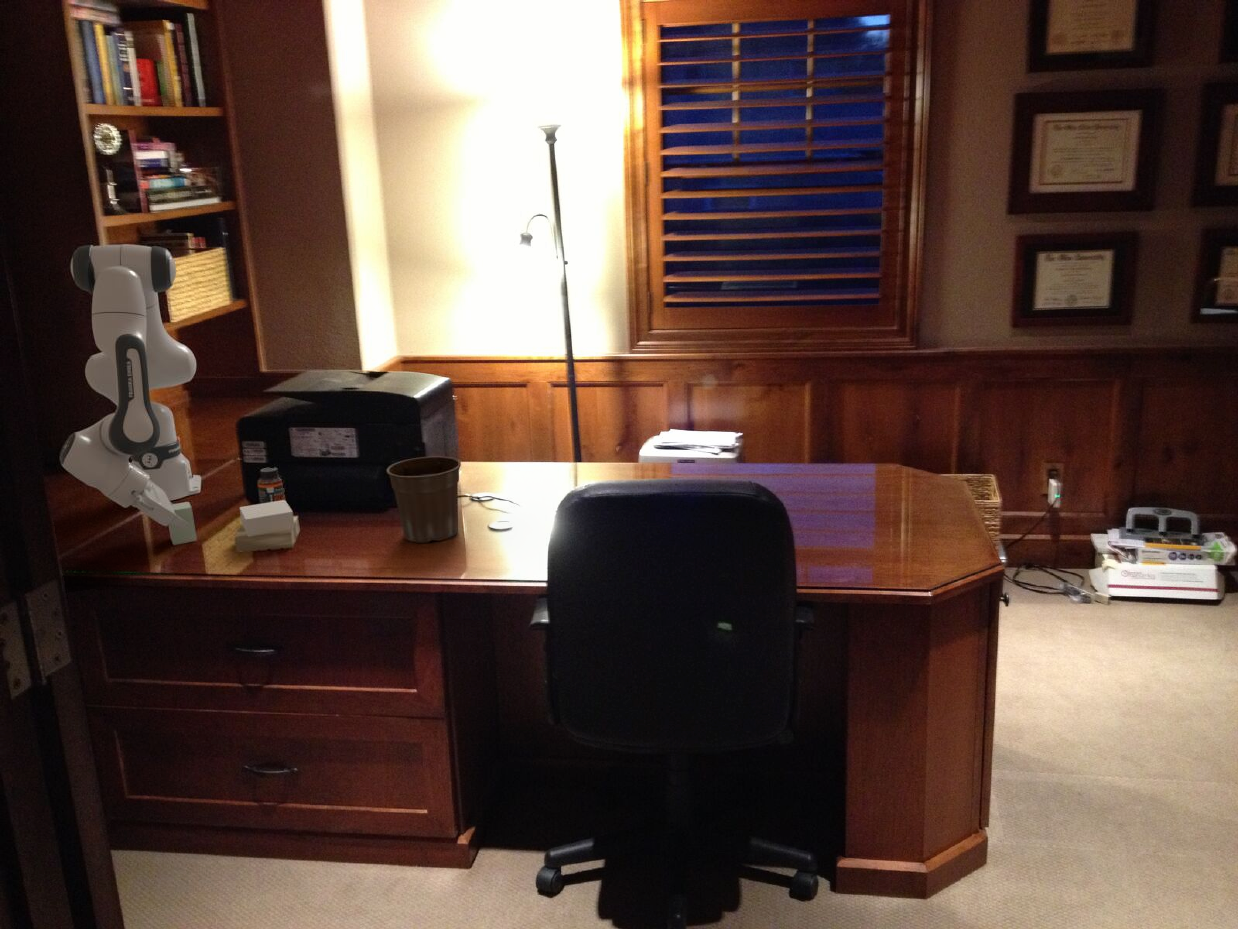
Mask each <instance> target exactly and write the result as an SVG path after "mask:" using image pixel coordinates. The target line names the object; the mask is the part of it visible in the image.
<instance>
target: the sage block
mask: <svg viewBox="0 0 1238 929" xmlns="http://www.w3.org/2000/svg"><path fill="white" fill-rule="evenodd" d="M171 506H172V508H173V510H174V512H175V514H176V515H177V516H179V517H180V518H183V519H184V520H186V521H187V522H188V524H189V525H188V526H187V528H186V529H181V528H180V527H178V526H176V525H173V524H171V523H169V524H168V529H169V534H170V535H169V536H170V540H171V542H172V544H173V546H177V545H181V544H185V543H190V542H191V543H192V542H197V540H198V538H197V533H196V527H195V520H194V513H193V509H192V506H191V503H190V502H189V501H185V502H179V503H172V505H171Z"/></svg>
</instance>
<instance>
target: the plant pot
mask: <svg viewBox="0 0 1238 929" xmlns="http://www.w3.org/2000/svg"><path fill="white" fill-rule="evenodd" d="M461 466H462V463H461V461H460V460H459V459H457V458H454V457H448V456H438V455H437V456H423V457H416V458H415V457H414V458H410V459H404V460H400V461H398V462H395V463H393V464H391V465H389V466H388V467H387V469H386V473H387V475H389V479H390V484H391V488H392V489H393V492H394V495H395V499H396V505H397V510H398V514H399V519H400V524H401V529H402V534H403V538H404V539H405V540H407V541H409V542H412V543H418V544H419V543H420V544H423V543H425V544H426V543H427V544H428V543H430V542H431V541H436V542H440V541H441V542H442V541H445V540H449V539H451V538H452V537H454V536H455V535H457V534H458V531H459V499H458V498H459V497H458V496H459V495H458V494H459V493H458V492H459V482H460V468H461Z"/></svg>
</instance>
